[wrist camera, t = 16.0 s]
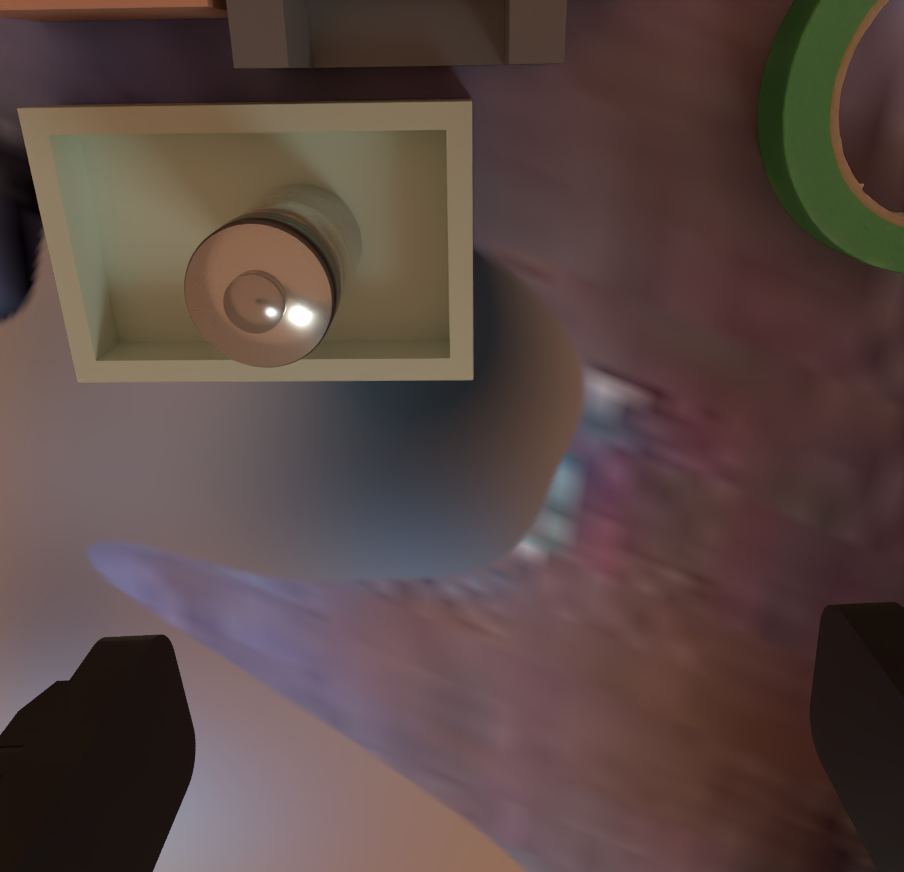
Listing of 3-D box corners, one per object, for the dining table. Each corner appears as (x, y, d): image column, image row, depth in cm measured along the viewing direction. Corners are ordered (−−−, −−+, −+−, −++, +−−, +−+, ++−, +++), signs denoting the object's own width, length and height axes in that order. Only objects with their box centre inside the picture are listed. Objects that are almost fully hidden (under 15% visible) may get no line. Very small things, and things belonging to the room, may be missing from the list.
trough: (473, 356, 30) (473, 379, 28) (107, 358, 31) (77, 382, 28) (472, 98, 27) (472, 101, 24) (56, 104, 27) (17, 107, 25)
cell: (357, 180, 27) (320, 224, 20) (368, 297, 29) (336, 374, 22) (238, 184, 27) (162, 230, 21) (255, 301, 29) (190, 378, 22)
